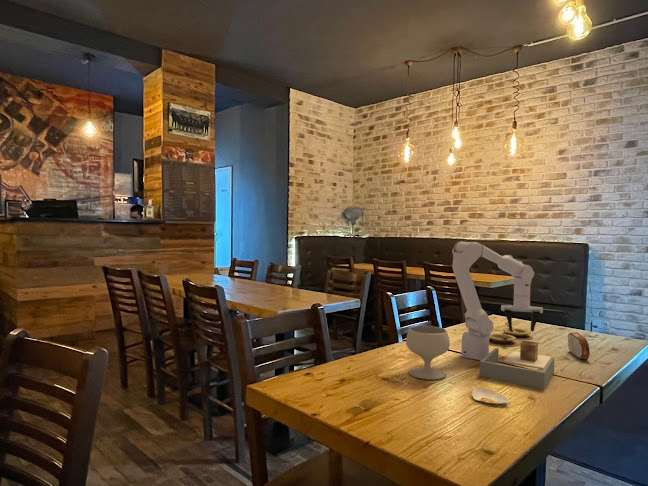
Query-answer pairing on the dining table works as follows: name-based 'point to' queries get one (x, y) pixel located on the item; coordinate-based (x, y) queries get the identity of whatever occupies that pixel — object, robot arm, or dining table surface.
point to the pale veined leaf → (489, 395)
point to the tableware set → (509, 337)
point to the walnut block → (529, 351)
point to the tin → (578, 345)
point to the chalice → (427, 349)
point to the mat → (515, 359)
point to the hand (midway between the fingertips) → (521, 330)
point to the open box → (515, 372)
